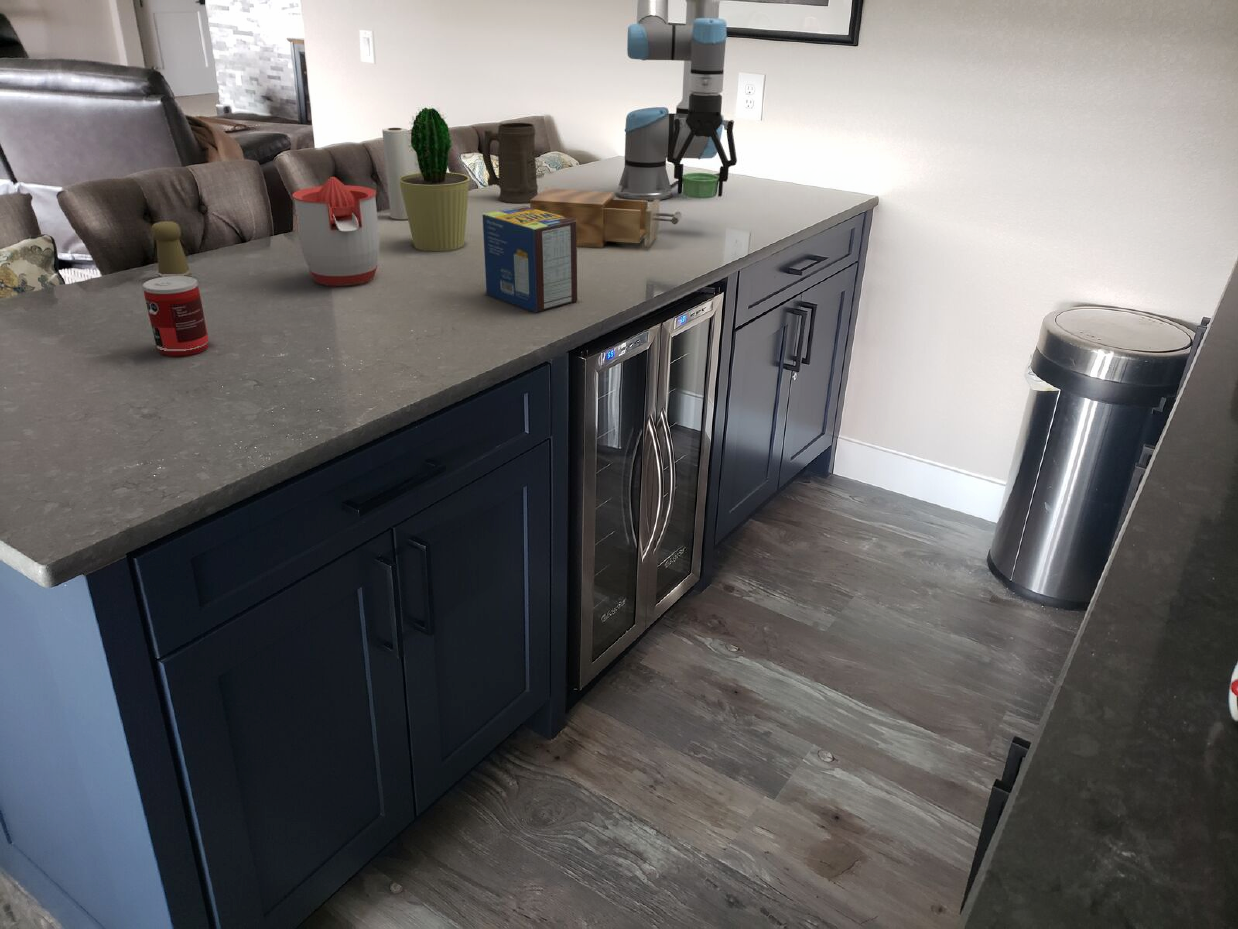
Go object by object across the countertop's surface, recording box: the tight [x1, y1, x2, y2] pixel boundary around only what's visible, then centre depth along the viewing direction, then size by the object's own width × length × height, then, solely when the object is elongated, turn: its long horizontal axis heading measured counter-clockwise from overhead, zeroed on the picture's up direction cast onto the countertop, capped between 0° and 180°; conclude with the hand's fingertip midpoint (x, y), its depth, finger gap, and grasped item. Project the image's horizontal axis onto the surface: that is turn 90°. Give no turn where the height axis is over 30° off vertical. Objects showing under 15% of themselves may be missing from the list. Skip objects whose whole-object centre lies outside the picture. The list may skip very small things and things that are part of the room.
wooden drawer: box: [603, 198, 682, 247], centre depth 214 cm, size 21×13×8 cm, turn 79°
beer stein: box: [481, 122, 539, 204], centre depth 252 cm, size 15×11×20 cm
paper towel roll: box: [381, 127, 421, 220], centre depth 229 cm, size 7×6×21 cm
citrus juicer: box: [291, 176, 380, 287], centre depth 181 cm, size 16×17×20 cm
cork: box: [150, 220, 193, 278], centre depth 182 cm, size 6×6×11 cm
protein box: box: [482, 205, 578, 313], centre depth 174 cm, size 10×15×16 cm
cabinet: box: [529, 187, 616, 249], centre depth 217 cm, size 17×14×10 cm
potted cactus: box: [399, 106, 471, 252], centre depth 204 cm, size 15×15×30 cm
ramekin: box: [682, 172, 719, 199], centre depth 221 cm, size 9×9×4 cm
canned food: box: [142, 276, 210, 357], centre depth 148 cm, size 8×8×11 cm
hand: (699, 193), depth 222 cm, fingers closed on ramekin, 9 cm apart
